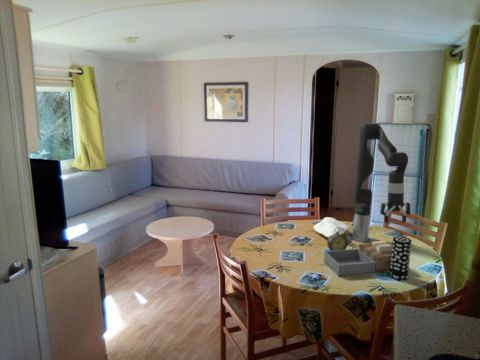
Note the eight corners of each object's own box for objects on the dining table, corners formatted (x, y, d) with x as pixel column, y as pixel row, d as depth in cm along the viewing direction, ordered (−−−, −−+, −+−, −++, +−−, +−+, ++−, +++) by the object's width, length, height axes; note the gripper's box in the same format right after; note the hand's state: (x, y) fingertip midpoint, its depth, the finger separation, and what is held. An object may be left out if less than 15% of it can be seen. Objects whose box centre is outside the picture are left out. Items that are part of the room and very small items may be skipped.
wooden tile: (372, 246, 197) (372, 241, 197) (383, 245, 199) (384, 240, 198) (379, 251, 191) (379, 246, 190) (391, 250, 192) (391, 245, 191)
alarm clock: (330, 256, 207) (331, 229, 203) (325, 252, 212) (326, 226, 208) (347, 254, 210) (348, 227, 206) (342, 250, 215) (343, 224, 211)
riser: (358, 258, 204) (359, 243, 202) (381, 256, 206) (382, 241, 204) (375, 273, 186) (377, 256, 184) (400, 270, 189) (401, 254, 187)
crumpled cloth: (345, 224, 257) (344, 212, 256) (357, 242, 223) (355, 228, 221) (312, 228, 260) (310, 216, 258) (318, 246, 226) (316, 233, 224)
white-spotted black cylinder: (402, 273, 186) (406, 236, 182) (410, 280, 178) (414, 242, 174) (386, 273, 186) (390, 236, 182) (394, 281, 178) (397, 242, 174)
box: (324, 261, 200) (324, 251, 199) (357, 258, 204) (358, 248, 202) (338, 276, 183) (339, 265, 181) (374, 273, 186) (375, 262, 185)
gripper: (406, 190, 188) (405, 220, 190) (379, 190, 188) (378, 221, 190) (413, 192, 180) (412, 224, 182) (384, 193, 181) (383, 224, 183)
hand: (394, 222), depth 186 cm, fingers open, 8 cm apart
